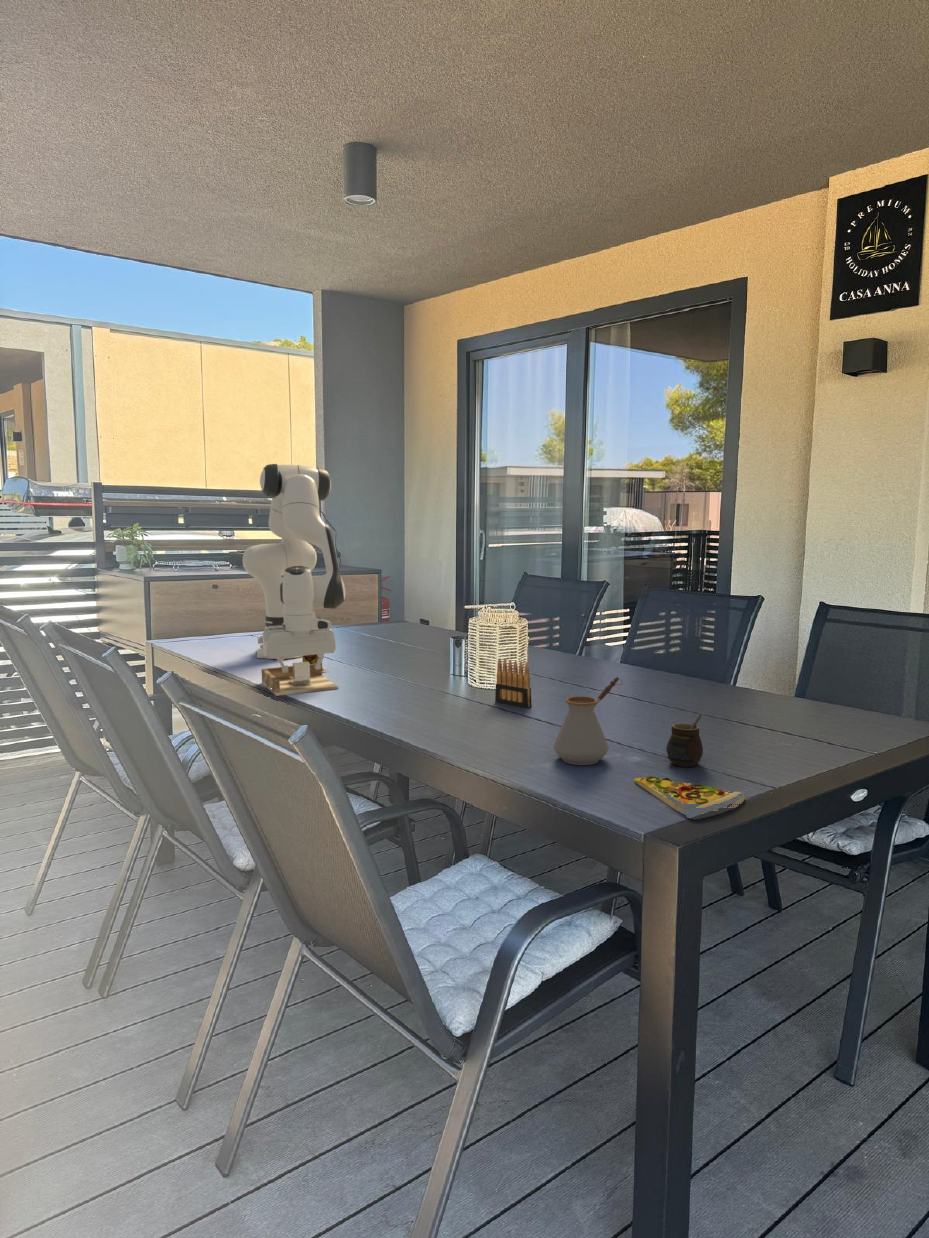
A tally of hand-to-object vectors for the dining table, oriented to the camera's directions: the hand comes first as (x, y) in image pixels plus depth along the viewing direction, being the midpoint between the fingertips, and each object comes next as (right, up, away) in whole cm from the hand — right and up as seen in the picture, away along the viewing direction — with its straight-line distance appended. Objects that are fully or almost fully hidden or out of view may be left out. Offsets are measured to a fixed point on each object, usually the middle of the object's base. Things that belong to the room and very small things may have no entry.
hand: (301, 670), depth 244 cm
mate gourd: (+92, -15, -70) cm, 117 cm away
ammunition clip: (+60, -8, -21) cm, 64 cm away
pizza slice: (+86, -18, -88) cm, 125 cm away
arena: (-1, -5, +3) cm, 6 cm away
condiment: (-1, -2, +24) cm, 24 cm away
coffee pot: (+75, -14, -63) cm, 99 cm away
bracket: (-1, -4, +3) cm, 5 cm away
